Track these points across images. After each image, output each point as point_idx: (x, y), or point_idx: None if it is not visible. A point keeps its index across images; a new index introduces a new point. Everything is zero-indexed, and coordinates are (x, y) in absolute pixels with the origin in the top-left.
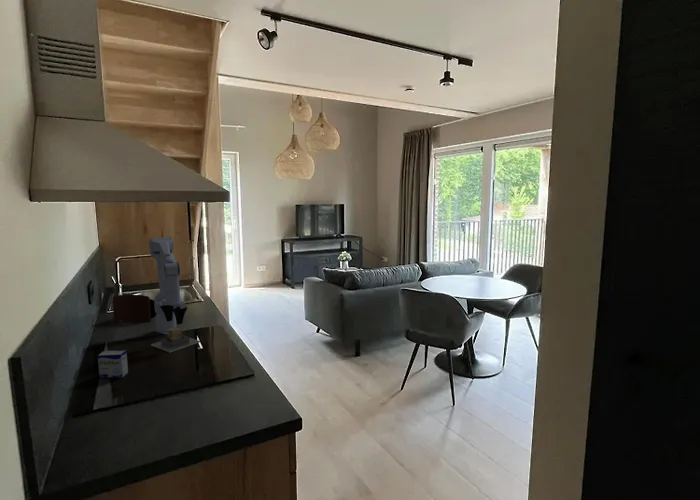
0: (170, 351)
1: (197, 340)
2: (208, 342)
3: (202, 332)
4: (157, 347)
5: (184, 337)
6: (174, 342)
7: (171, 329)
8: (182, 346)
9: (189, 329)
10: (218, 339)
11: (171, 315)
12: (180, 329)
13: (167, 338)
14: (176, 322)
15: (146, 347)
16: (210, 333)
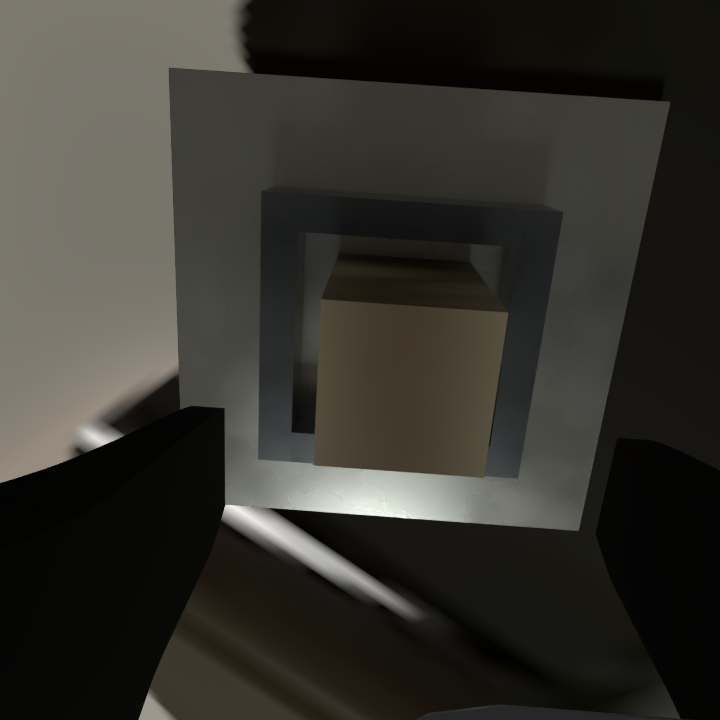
0: (172, 86)
1: None
2: None
3: (452, 694)
4: (484, 91)
5: None
6: (263, 234)
7: (435, 356)
8: (184, 278)
9: None
10: None
11: (652, 617)
12: (314, 445)
13: (511, 290)
14: (206, 416)
15: (666, 22)
16: (343, 707)
